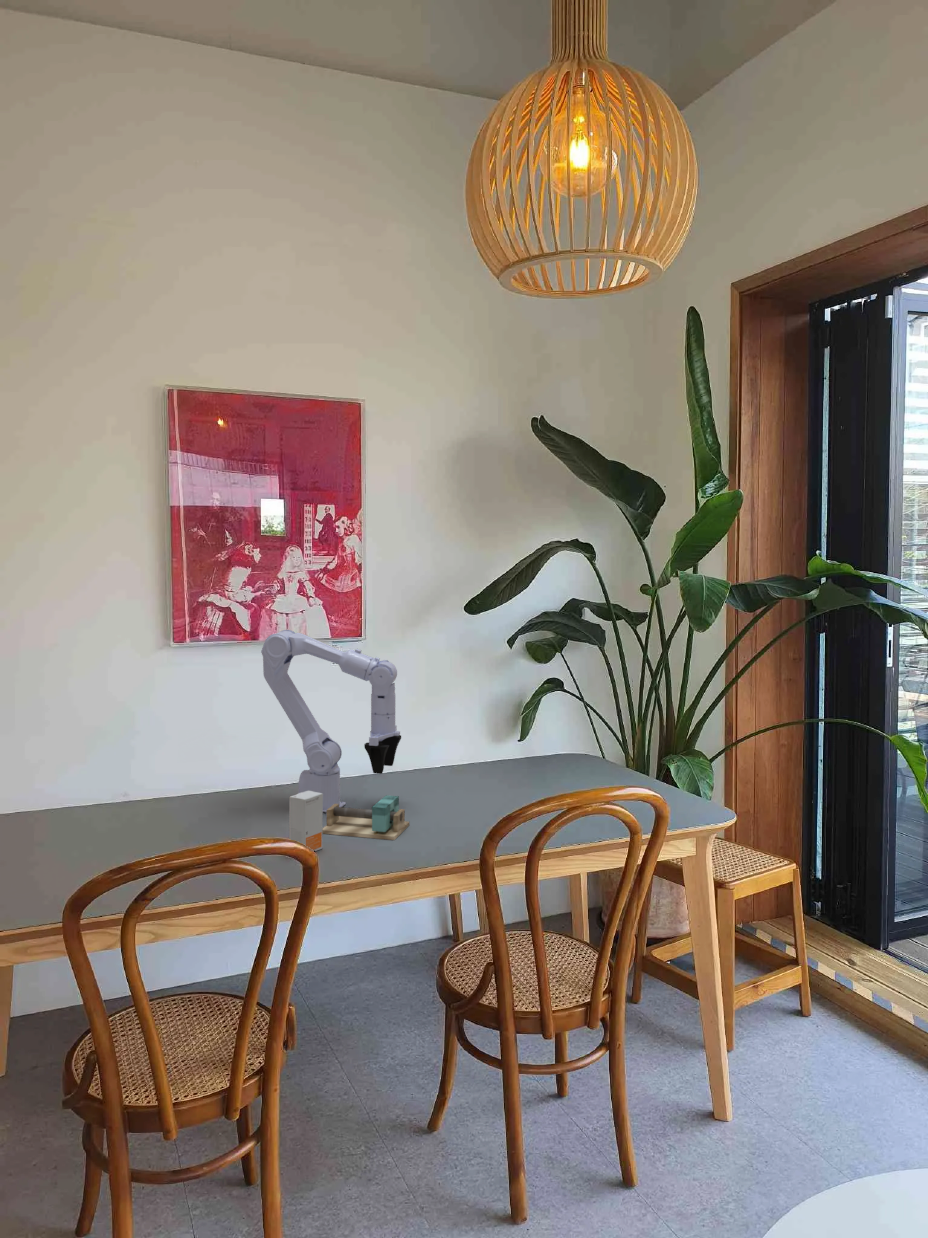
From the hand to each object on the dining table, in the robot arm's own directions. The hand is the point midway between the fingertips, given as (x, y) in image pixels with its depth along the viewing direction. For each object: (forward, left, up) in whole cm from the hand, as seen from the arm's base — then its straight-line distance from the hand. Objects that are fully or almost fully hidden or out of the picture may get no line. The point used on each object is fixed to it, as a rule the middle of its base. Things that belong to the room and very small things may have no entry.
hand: (383, 769), depth 231 cm
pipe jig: (+1, -15, -10) cm, 18 cm away
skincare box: (-6, -32, -10) cm, 34 cm away
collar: (+6, -15, -9) cm, 18 cm away
